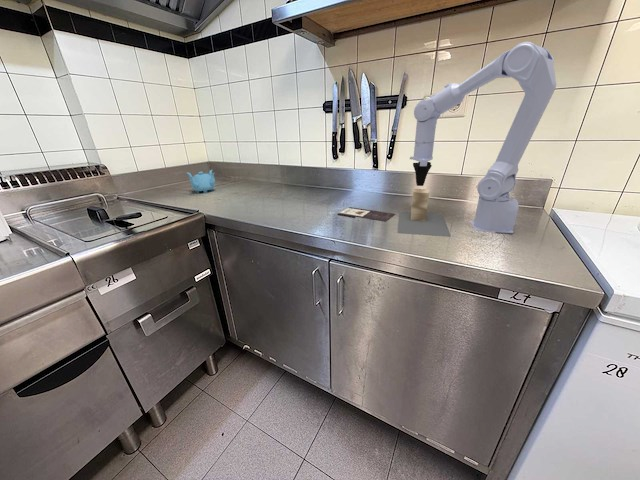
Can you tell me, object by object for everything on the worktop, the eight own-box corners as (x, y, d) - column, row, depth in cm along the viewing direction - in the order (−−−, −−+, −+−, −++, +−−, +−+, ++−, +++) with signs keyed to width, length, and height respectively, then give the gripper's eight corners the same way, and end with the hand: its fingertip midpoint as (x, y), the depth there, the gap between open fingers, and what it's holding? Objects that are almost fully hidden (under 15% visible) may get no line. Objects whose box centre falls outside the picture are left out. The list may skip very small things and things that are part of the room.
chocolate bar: (385, 221, 85) (337, 213, 94) (385, 224, 85) (337, 216, 95) (395, 213, 91) (349, 207, 101) (395, 216, 92) (349, 209, 101)
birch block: (424, 216, 88) (428, 189, 84) (425, 220, 84) (429, 192, 80) (410, 215, 89) (413, 188, 85) (410, 220, 85) (413, 192, 81)
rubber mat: (442, 215, 90) (442, 213, 89) (450, 238, 72) (451, 236, 72) (399, 213, 94) (399, 211, 93) (397, 234, 76) (397, 233, 76)
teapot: (192, 195, 132) (187, 175, 128) (190, 190, 143) (186, 171, 139) (219, 191, 138) (215, 172, 133) (215, 187, 148) (212, 168, 144)
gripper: (410, 141, 93) (407, 180, 98) (411, 144, 80) (407, 189, 85) (432, 140, 91) (427, 180, 96) (436, 144, 78) (431, 190, 83)
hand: (419, 184), depth 91 cm, fingers closed
